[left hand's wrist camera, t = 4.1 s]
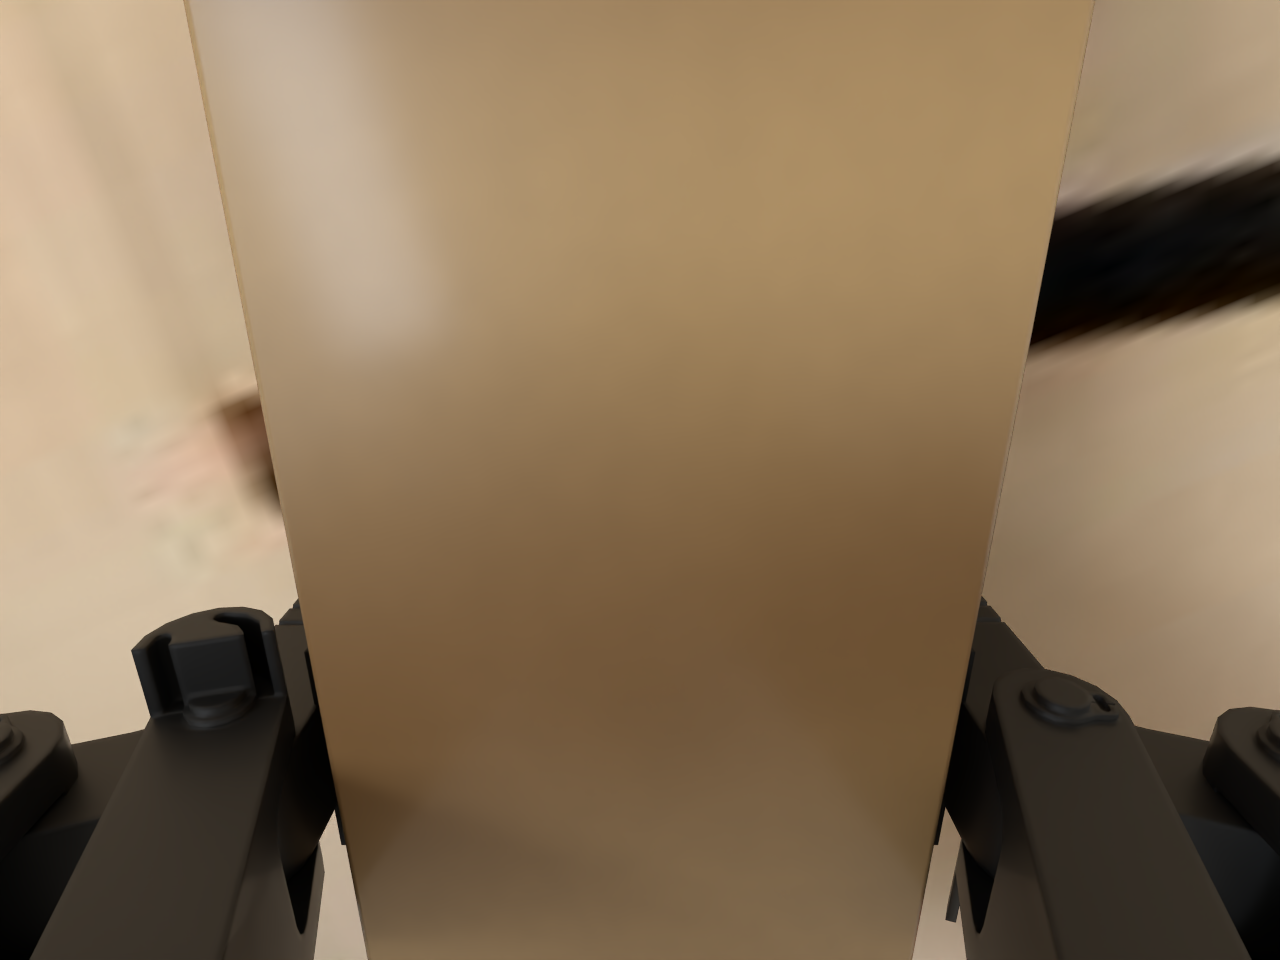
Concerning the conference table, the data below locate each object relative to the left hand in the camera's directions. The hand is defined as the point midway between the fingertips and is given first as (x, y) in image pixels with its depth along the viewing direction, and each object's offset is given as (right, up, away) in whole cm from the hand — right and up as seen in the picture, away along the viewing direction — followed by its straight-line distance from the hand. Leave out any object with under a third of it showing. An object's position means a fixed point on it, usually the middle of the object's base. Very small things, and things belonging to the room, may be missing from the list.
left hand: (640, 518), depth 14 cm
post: (0, +17, -6) cm, 18 cm away
